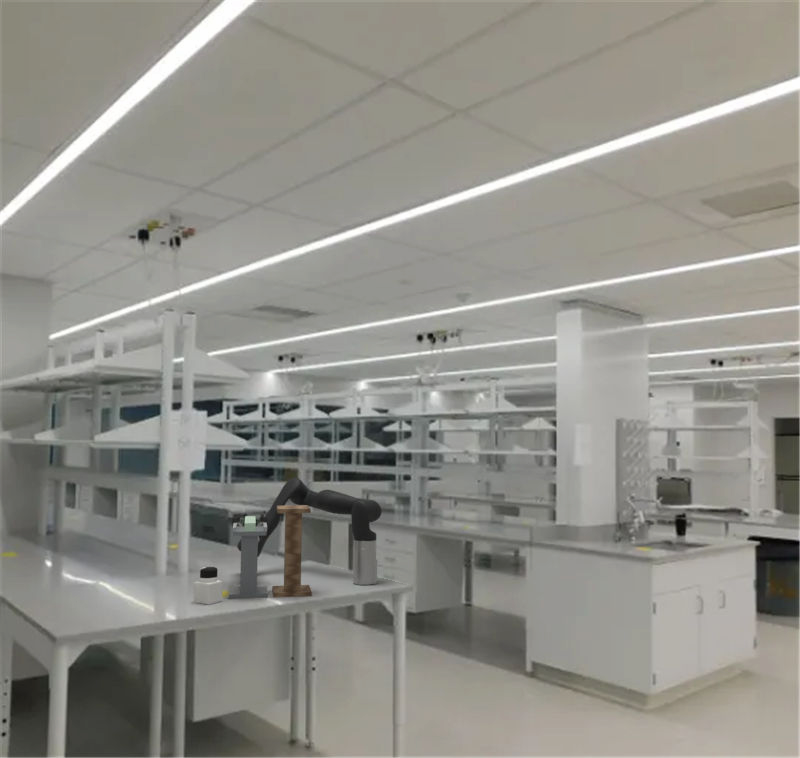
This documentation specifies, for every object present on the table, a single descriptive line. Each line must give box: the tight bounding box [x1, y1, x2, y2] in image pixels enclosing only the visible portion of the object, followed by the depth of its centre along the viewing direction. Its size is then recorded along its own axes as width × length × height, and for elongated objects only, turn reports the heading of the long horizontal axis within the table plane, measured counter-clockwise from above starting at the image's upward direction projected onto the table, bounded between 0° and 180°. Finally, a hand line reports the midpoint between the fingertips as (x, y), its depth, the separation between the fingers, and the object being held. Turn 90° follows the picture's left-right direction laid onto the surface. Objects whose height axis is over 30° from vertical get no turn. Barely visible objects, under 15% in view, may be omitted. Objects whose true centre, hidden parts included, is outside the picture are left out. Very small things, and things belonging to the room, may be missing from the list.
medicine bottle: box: [193, 566, 223, 606], centre depth 262 cm, size 7×7×12 cm
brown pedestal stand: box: [271, 504, 313, 598], centre depth 280 cm, size 14×16×32 cm
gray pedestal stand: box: [228, 523, 269, 600], centre depth 276 cm, size 14×16×26 cm
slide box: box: [244, 515, 256, 532], centre depth 282 cm, size 4×26×3 cm, turn 11°
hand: (250, 515), depth 289 cm, fingers open, 8 cm apart
